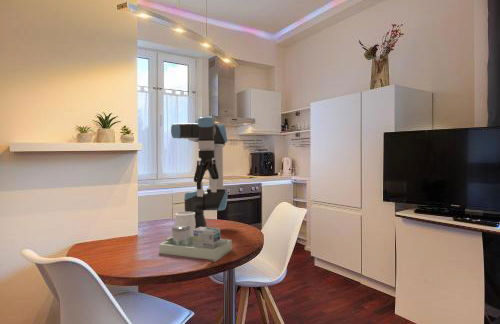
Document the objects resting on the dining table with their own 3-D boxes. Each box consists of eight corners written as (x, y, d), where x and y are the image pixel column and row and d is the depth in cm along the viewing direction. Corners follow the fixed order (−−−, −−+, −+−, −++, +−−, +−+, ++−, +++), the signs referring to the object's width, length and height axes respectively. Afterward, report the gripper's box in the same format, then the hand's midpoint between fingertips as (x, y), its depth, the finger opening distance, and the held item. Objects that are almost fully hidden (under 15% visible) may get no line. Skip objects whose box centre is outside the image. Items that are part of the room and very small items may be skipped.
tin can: (178, 245, 150) (178, 225, 150) (193, 247, 148) (193, 226, 147) (168, 250, 143) (168, 228, 143) (183, 252, 140) (183, 230, 140)
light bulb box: (221, 251, 141) (220, 227, 140) (214, 256, 134) (213, 231, 134) (200, 249, 145) (200, 226, 144) (192, 253, 138) (192, 229, 138)
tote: (180, 245, 155) (180, 233, 155) (232, 250, 145) (231, 237, 145) (158, 255, 140) (158, 241, 139) (215, 262, 129) (214, 247, 129)
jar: (191, 245, 155) (190, 215, 155) (171, 244, 157) (171, 214, 157) (198, 239, 165) (198, 211, 165) (180, 238, 167) (180, 211, 167)
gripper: (211, 149, 161) (212, 190, 162) (185, 150, 138) (186, 197, 139) (224, 149, 158) (225, 190, 159) (200, 150, 135) (200, 198, 136)
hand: (207, 194), depth 149 cm, fingers open, 13 cm apart
